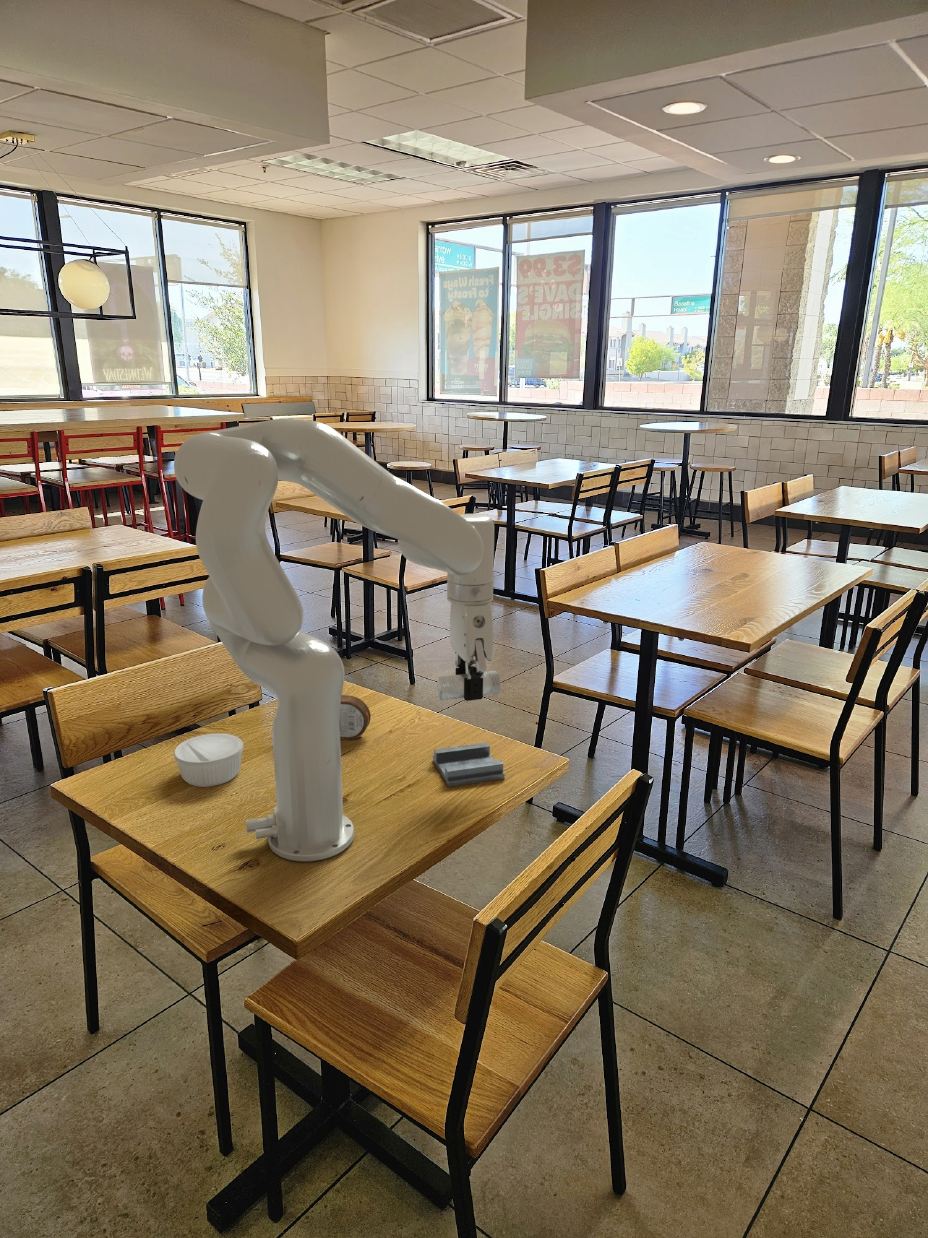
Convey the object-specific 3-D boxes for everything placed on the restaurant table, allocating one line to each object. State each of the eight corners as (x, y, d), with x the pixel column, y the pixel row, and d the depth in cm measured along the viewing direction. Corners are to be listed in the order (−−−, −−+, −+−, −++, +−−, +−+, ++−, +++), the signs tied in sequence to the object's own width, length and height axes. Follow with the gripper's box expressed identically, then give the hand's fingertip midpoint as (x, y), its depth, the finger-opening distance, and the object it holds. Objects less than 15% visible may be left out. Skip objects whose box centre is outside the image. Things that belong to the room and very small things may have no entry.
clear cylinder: (443, 704, 134) (443, 682, 133) (437, 694, 138) (437, 673, 137) (500, 697, 137) (500, 676, 136) (492, 688, 141) (492, 667, 140)
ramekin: (163, 784, 136) (159, 756, 134) (202, 755, 146) (199, 729, 144) (221, 795, 133) (218, 766, 131) (257, 765, 143) (255, 737, 141)
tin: (371, 735, 155) (370, 694, 152) (368, 742, 152) (366, 701, 149) (294, 731, 156) (292, 690, 154) (289, 738, 153) (287, 697, 151)
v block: (448, 787, 136) (448, 773, 135) (432, 760, 145) (432, 747, 144) (504, 778, 139) (504, 765, 138) (485, 753, 148) (485, 740, 147)
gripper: (509, 602, 126) (506, 711, 131) (475, 576, 141) (474, 674, 146) (463, 606, 123) (462, 716, 129) (434, 579, 139) (434, 679, 144)
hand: (468, 693), depth 137 cm, fingers closed on clear cylinder, 4 cm apart
